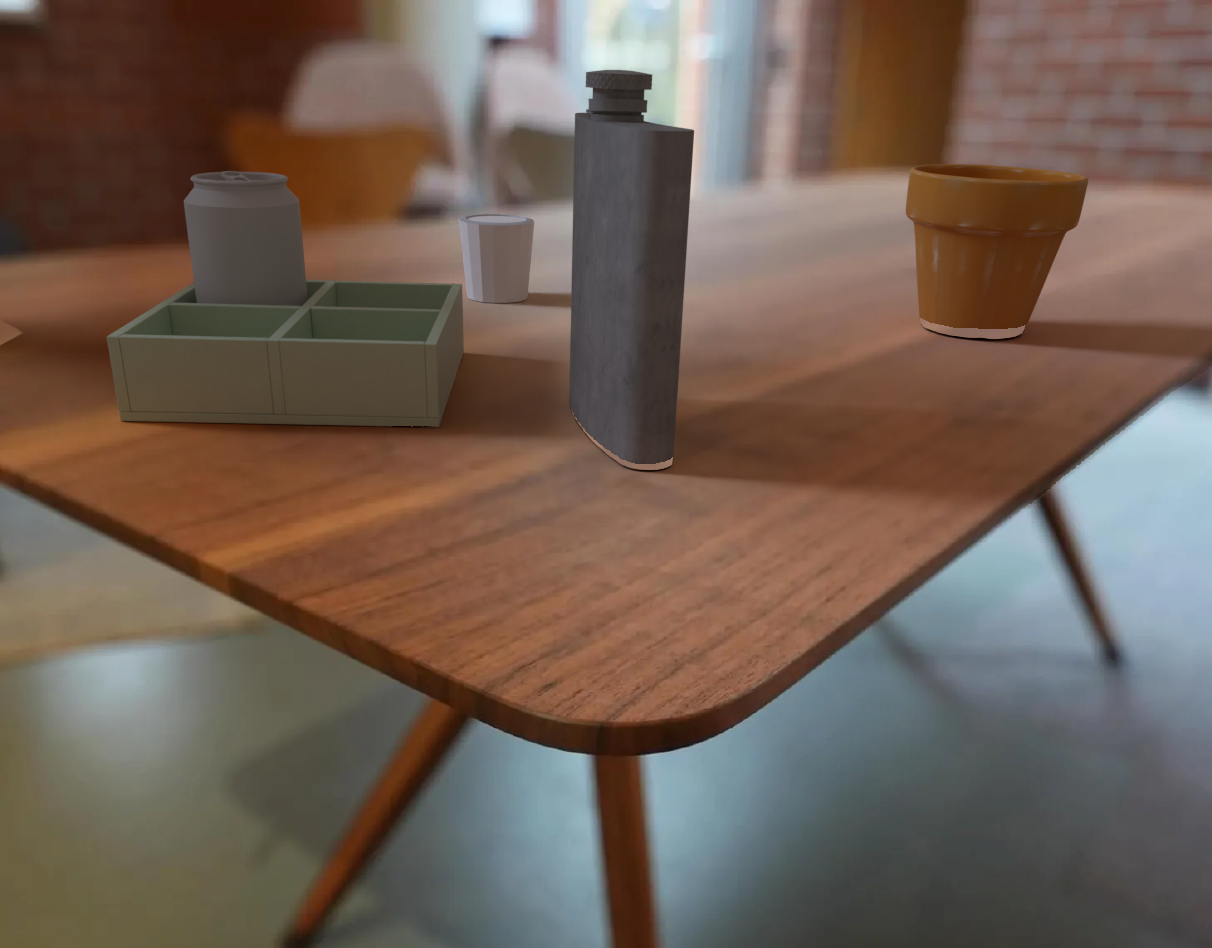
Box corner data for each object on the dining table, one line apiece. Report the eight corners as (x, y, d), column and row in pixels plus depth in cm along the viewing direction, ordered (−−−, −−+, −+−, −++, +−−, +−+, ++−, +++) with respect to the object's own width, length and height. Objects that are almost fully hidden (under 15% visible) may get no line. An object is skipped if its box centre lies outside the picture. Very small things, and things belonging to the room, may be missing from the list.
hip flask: (680, 469, 62) (706, 75, 54) (609, 473, 62) (625, 72, 53) (610, 392, 76) (622, 68, 67) (552, 394, 75) (556, 65, 66)
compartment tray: (120, 421, 67) (106, 336, 65) (209, 346, 84) (201, 276, 82) (439, 427, 68) (436, 344, 66) (463, 352, 85) (462, 283, 83)
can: (233, 371, 75) (210, 181, 69) (185, 349, 80) (160, 170, 74) (332, 355, 79) (318, 176, 74) (281, 335, 84) (264, 166, 79)
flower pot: (955, 353, 90) (985, 181, 84) (856, 316, 102) (877, 163, 96) (1091, 343, 95) (1128, 180, 89) (982, 309, 106) (1009, 163, 101)
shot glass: (520, 288, 108) (520, 212, 105) (544, 302, 103) (544, 223, 100) (451, 291, 106) (449, 214, 103) (472, 306, 100) (470, 224, 97)
